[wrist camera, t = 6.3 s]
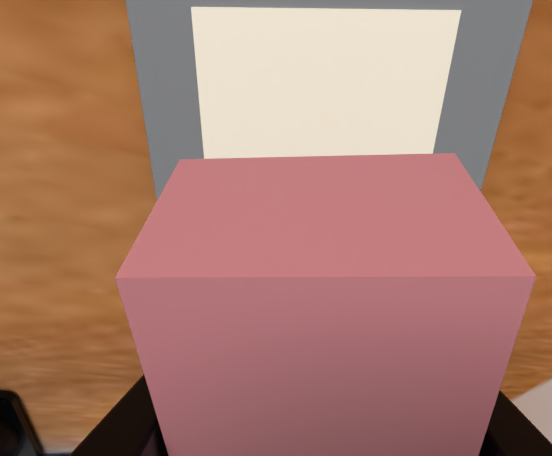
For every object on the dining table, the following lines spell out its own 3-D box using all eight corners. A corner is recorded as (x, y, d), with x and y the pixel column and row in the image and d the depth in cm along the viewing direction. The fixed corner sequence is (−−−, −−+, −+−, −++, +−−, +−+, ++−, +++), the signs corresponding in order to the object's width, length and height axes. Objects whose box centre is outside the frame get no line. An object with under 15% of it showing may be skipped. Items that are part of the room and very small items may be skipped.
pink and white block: (454, 152, 8) (540, 282, 5) (408, 426, 13) (440, 585, 10) (180, 159, 9) (111, 285, 6) (225, 423, 13) (201, 575, 10)
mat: (433, 345, 22) (436, 355, 21) (181, 334, 22) (178, 343, 22) (562, -139, 12) (573, -142, 12) (110, -138, 13) (102, -141, 12)
